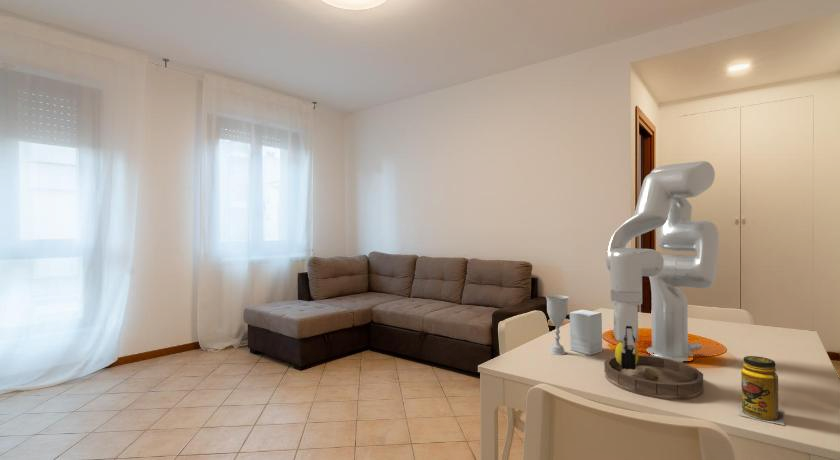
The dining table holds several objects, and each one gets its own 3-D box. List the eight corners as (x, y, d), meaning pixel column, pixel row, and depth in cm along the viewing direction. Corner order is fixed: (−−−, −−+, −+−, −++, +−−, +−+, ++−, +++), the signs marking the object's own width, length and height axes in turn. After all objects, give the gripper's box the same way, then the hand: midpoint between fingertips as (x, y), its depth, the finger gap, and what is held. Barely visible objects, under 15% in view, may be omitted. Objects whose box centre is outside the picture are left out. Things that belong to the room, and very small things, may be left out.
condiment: (738, 415, 86) (738, 359, 85) (739, 402, 92) (739, 350, 92) (784, 426, 81) (784, 367, 81) (782, 411, 87) (782, 356, 87)
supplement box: (603, 351, 130) (602, 312, 130) (589, 355, 126) (589, 315, 126) (582, 346, 136) (582, 308, 136) (569, 350, 132) (568, 311, 132)
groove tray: (657, 364, 117) (657, 352, 117) (726, 395, 95) (726, 381, 95) (588, 369, 114) (588, 357, 114) (643, 402, 92) (643, 387, 92)
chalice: (569, 350, 131) (568, 295, 131) (569, 356, 125) (569, 299, 125) (545, 348, 134) (545, 294, 134) (545, 354, 127) (544, 298, 127)
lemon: (641, 374, 104) (641, 343, 103) (618, 372, 105) (618, 342, 105) (634, 366, 109) (634, 337, 109) (612, 365, 110) (612, 336, 110)
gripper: (607, 291, 116) (608, 353, 116) (614, 302, 100) (614, 374, 100) (636, 292, 113) (637, 356, 113) (648, 303, 97) (648, 378, 97)
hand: (626, 363), depth 107 cm, fingers closed on lemon, 5 cm apart
